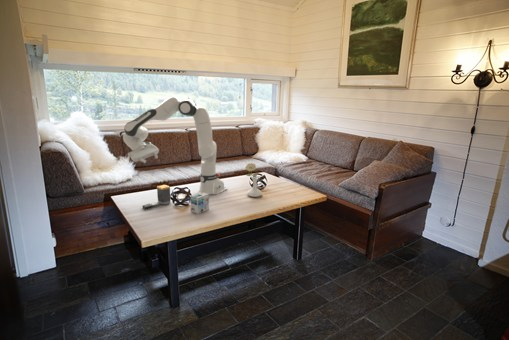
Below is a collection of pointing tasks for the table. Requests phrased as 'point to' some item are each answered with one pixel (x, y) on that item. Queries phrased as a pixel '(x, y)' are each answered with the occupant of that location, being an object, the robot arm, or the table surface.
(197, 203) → the light bulb box
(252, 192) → the flower in vase
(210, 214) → the table surface
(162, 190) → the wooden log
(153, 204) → the ratchet
